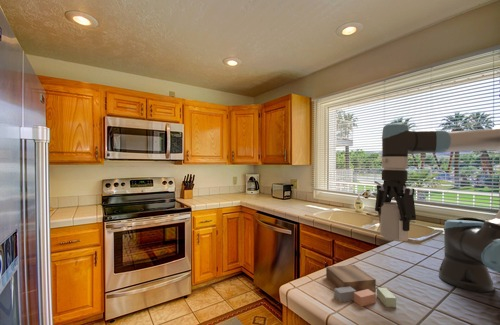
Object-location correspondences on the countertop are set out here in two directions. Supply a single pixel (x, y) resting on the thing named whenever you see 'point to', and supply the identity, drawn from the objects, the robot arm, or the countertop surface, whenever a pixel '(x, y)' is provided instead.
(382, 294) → the brick sage
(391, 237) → the can
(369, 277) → the walnut block
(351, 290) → the brick slate
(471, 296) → the countertop surface
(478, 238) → the robot arm
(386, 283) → the countertop surface
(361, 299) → the brick terracotta
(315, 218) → the countertop surface
